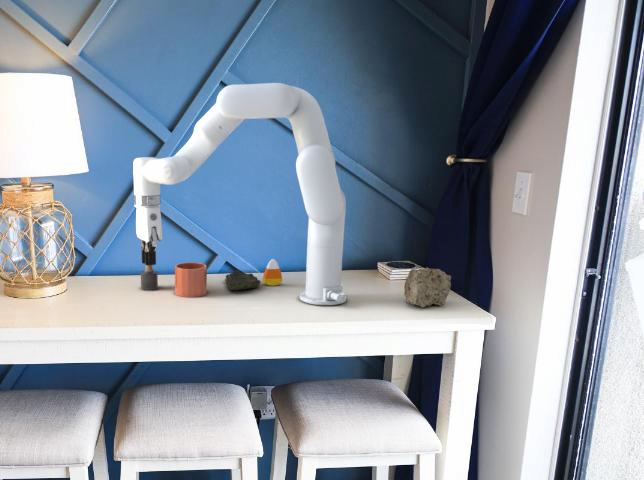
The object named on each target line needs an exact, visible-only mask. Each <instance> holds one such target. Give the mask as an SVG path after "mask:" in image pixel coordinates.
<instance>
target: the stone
mask: <svg viewBox="0 0 644 480" xmlns="http://www.w3.org/2000/svg"><path fill="white" fill-rule="evenodd" d="M224 281H225V283H226V285H227V286H226V287H227V288H228V290H229V291H238V290H247V289H251V288H253V289H254V288H255V289H257V288H259V287H260V285H261V280H260V279H258V277H257V276H254V274H253V273H251V272H250V273H246V272H244V271H242V270H240V269H236V270H234V271H233V272H231V273H229V274H226V275H225V278H224Z"/></svg>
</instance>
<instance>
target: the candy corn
mask: <svg viewBox="0 0 644 480" xmlns="http://www.w3.org/2000/svg"><path fill="white" fill-rule="evenodd" d="M282 282H283V274H282V271H281V268H280V266H279V263H278V261H277V260H276V259H274V258H271V259H270V260H269V262H268V264H267V265H266V267H265V270H264V272H263V276H262V283H263V284H265V285H268V286H271V287H272V286H273V287H274V286H275V287H276V286H279V285H280V284H282Z"/></svg>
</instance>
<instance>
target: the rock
mask: <svg viewBox="0 0 644 480" xmlns="http://www.w3.org/2000/svg"><path fill="white" fill-rule="evenodd" d="M451 279H452V276H451V275H450V274H446V272H445V271H442V270H441V269H440V268H429V267H425V268H419V269H415V268H411V269H409V272H408V275H407V277H406V278H405V282H404V293H403V295H404V297H405V299H406V303H408V304H411V305H416V306H419V307H421V308H425V307H427V306H429V307H430V306H432V305H436V306H443V305H444V304H445V302H446V301H447V299H448V297H449V294H450V291H451V287H452V283H451Z"/></svg>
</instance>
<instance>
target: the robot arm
mask: <svg viewBox="0 0 644 480" xmlns="http://www.w3.org/2000/svg"><path fill="white" fill-rule="evenodd" d="M215 101H216V102H215V103H214V104H213V105H212V106H211V107H210V109H208V111H207V112H205V114H204V115H202V117H201V118H200V119H199V120H197V122H196V123H195V125H194V127H193V132H192V134H191V136H190V138H189V139H188V140H187V142H186V143H185V144H184V145H183V147H181V148H180V149H179V150H178V151H177V152H176V153H175V154H174V155H173V156H168V157H163V158H157V157H155V156H154V157H153V156H142V157H140V156H139V157H136V158H134V160H133V162H132V163H133V164H132V166H133V167H132V169H133V201H134V202H133V205H134V207H135V208H136V211H135V232H136V237H137V238H138V239H139V241H140V249H141V263H142V264H144V266H146V265H152V266H156V265H157V247H158V245H159V242H162V241H163V222H162V214H161V206H162V205H161V201H162V200H161V185H165V186H166V185H168V186H172V185H173V186H174V185H176V184H179V183H182V182H184V181H186V180H188V179H189V178H190V177H191V176H192V175H193V174H194V173H195V172H196V171H197V170H198V169H199V168H200V167H201V166H202V165H203V164H204V163H205V162H206V161H207V160H208V159H209V157H210V156H212V154H213V153H214V152H215V151H216V150H217V148H218V147H219V146H221V144H222V143H223V142H224V141H225V140H226V139H227V138H228V137H229V136H230V135H231V133H233V132H234V131H235V130H236V129H237V128H238V127H239V126H240V125H241V124H242V123H243V121H245V120H253V119H254V120H255V119H256V120H258V119H286V120H288V121H289V122H290V123H289V124H290V126H291V128H292V134H293V137H294V141H295V144H296V149H297V154H298V155H297V157H296V160H295V170H296V175H297V180H298V185H299V188H300V192H301V197H302V201H303V205H304V209H305V212H306V214H307V217H308V223H307V240H306V241H307V244H306V262H305V263H306V268H305V290H304V291H302V292H300V293H299V297H298V298H299V300H300V301H302V302H303V303H306V304H310V305H316V306H336V305H337V306H338V305H341V304H344V303H345V302H346V301H347V297H348V295H347V293H346V292H343V287H344V286H342V272H343V254H344V241H345V240H344V238H345V223H346V222H345V221H346V210H347V209H346V208H347V200H346V199H347V198H346V196H345V195H346V194H345V193H344V192H343V190H342V189H341V185H340V181H339V177H338V173H337V169H336V157H335V154H334V151H333V148H332V144H331V141H330V137H329V132H328V128H327V125H326V121H325V117H324V115H323V111H322V108H321V106H320V105H319V102H318V101H317V100H316V99H315V97H314V96H313V95H312V94H311V93H309V92H308V91H307V90H305V89H303V88H300V87H297V86H295V85H290V84H286V83H283V82H265V83H264V82H263V83H247V84H244V83H243V84H229V85H226V86H224V87H223V88H222V89H221V90H220V91H219V92H218V94H217V97H216V100H215ZM145 245H146V252H145Z"/></svg>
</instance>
